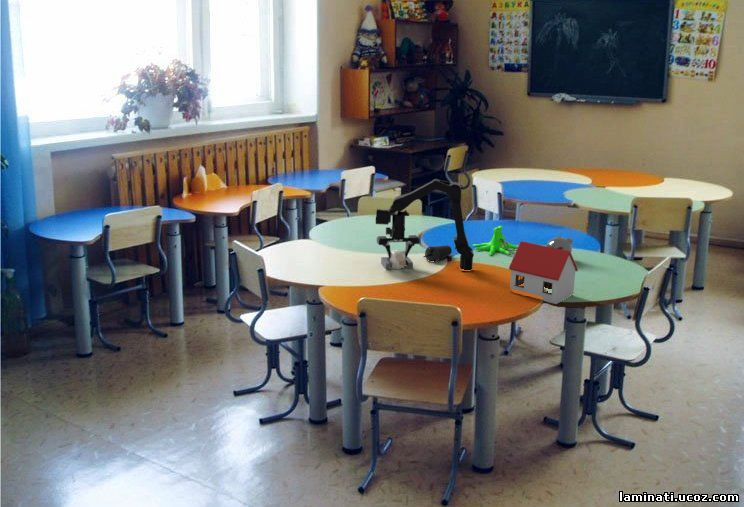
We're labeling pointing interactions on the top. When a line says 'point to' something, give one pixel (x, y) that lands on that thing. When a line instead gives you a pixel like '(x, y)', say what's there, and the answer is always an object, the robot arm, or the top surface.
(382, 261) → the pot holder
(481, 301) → the top surface
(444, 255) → the drinking cup
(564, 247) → the piggy bank
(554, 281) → the house model
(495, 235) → the toy octopus
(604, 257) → the top surface
